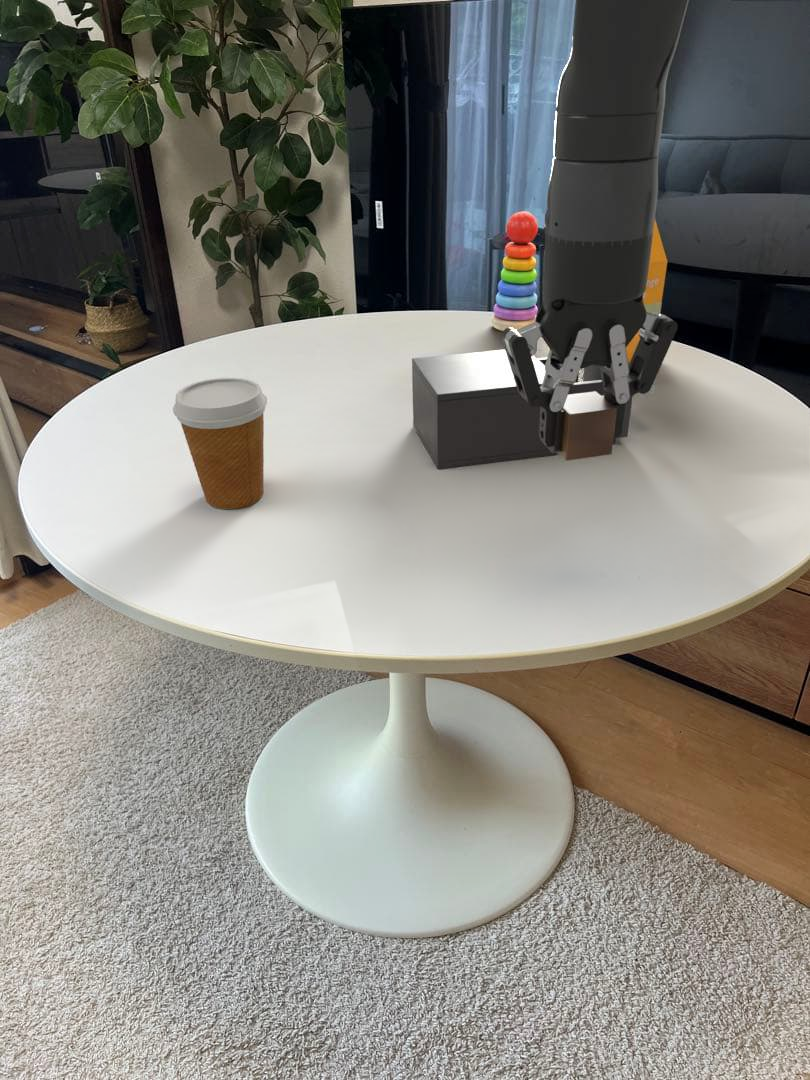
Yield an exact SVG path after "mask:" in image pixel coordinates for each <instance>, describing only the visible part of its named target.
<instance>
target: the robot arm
mask: <svg viewBox="0 0 810 1080" xmlns="http://www.w3.org/2000/svg"><path fill="white" fill-rule="evenodd" d="M689 1H690V0H575V6H574V16H573V27H572V41H571V52H570V57H569V60H568V62H567V64H566V65H565V67H564V69H563V71H562V73H561V76H560V79H559V83H558V90H557V96H556V109H555V120H554V137H553V138H554V139H553V156H554V157H553V158H552V166H551V173H550V177H549V182H548V189H547V198H546V199H547V200H546V210H545V213H544V225H545V235H544V251H543V252H544V254H543V255H544V256H543V271H542V272H543V273H542V287H541V289H542V302H541V305H540V307H539V310H538V311H537V314H536V319H535V322H533V323H531V324H529V325H527V326H524V327H522V328H520V329H518V330H515V329H514V328H511V327H508V328H506V329H505V330H504V331H501V334H500V335H501V336H500V337H501V341H502V343H503V344H502V345H503V347H504V350H505V351H506V354H507V357H508V360H509V363H510V367H511V370H512V373H513V376H514V380H515V383H516V386H517V389H518V392H519V394H520V395H521V396H522V397H523V398H524V399H525V400H526V401H527V402H528V404H529V405H530V406H532V407H537V406H539V407H540V424H539V437H540V439H541V441H542V442H543V443H544V444H545V446H546V447H547V448H548V449H549V450H550V451H551V452H552V453H559V452H561V451H562V443H563V430H564V417H565V411H564V410H563V407H564V404H565V401H566V398H567V395H568V392H569V390H570V387H571V386H572V385H574V383H575V381H576V379H577V376H578V373H579V374H580V370H582V369H583V370H584V368H585V367H588V366H590V365H597V366H598V368H599V370H600V374H601V380H602V386H603V390H604V392H605V393H604V396H602V397H603V398H604V399H606V400H607V401H608V402H609V403H610V404H612V405H613V406H614V407H615V408H616V409H617V413H616V421H615V430H614V439H613V446H614V445H615V444H616V439H620V438H619V437H620V435H621V433H622V427H623V426H622V425H623V419H624V410H625V404H626V402H627V401H628V400H629V398H630V397H631V396H633V397H634V396H635V395H637V394H641V395H644V394H645V393H647V392H649V391H650V389H651V387H652V385H653V386H654V383H655V380H656V378H657V376H658V373H659V372H660V369H661V367H662V365H663V362H664V360H665V357H666V356H667V353H668V351H669V349H670V347H671V345H672V343H673V340H674V337H675V336H676V333H677V331H678V326H679V325H678V322H677V321H676V320H673V319H672V318H671V317H669V316H667V315H665V314H664V313H663V314H662V313H661V312H660V313H659V312H655V313H653V314H652V313H648V312H646V308H645V306H644V303H643V294H644V292H645V290H646V286H647V278H648V270H649V262H650V254H651V246H652V238H653V230H654V222H655V221H656V212H657V205H658V196H659V195H658V194H659V154H660V149H661V148H660V147H661V139H662V138H661V137H662V132H663V124H664V123H663V122H664V115H665V111H664V110H665V109H666V108H665V107H666V93H667V80H668V77H669V72H670V69H671V65H672V62H673V60H674V57H675V53H676V50H677V47H678V43H679V39H680V36H681V31H682V29H683V24H684V20H685V16H686V13H687V9H688V5H689ZM638 331H639V336H640V340H639V342H638V345H637V347H636V350H635V352H634V354H633V357H632V359H631V361H630V363H628V360H627V353H626V347H627V346H628V344H629V343H630V342H631V340H632V339H633V338H634V336H635V335H636V333H637V332H638ZM540 338H542V339H543V341H544V342H545V344H546V345H547V347H548V348H549V352H548V354H547V360H546V364H545V376H544V379H543V382H542V386H541V387H540V385H539V381H538V378H537V374H536V371H535V367H534V364H533V360H532V357H531V356H533V355H534V356H535V355H536V353H537V350H538V346H537V345H538V341H539V339H540ZM578 377H579V376H578Z"/></svg>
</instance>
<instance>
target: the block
mask: <svg viewBox="0 0 810 1080" xmlns="http://www.w3.org/2000/svg"><path fill="white" fill-rule="evenodd" d="M563 410H564V411H565V417H564V430H563V443H562V451H561V452H558V453H559V454H560V456H561V457H562V458H563V459H564V460H565V461H573V460H581V459H587V458H594V457H595V458H596V457H603V456H609V455H612V453H613V447H614V445H613V439H614V430H615V421H616V413H617V409H616V408H615V407H614V406H613V405H612V404H610V403H609V402H608V401H607V400H606V399H604V398H603V397H602V396H601V395H600V394H598V393H597V392H596V391H594V392H586V393H578V394H570V395H567V398H566V401H565V404H564V407H563Z"/></svg>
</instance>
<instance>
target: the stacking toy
mask: <svg viewBox="0 0 810 1080" xmlns="http://www.w3.org/2000/svg"><path fill="white" fill-rule="evenodd" d="M538 231H539V224H538V220H537V218H536V217H535V216H534V214H532V213H531V212H528V211H518V212H515V213H514V214H512V215H511V216H510V217H509V219H508V221H507V223H506V235H507V237H508V239H509V240H510V242H508V243H507V244H506V245H505V247H504V253H505V254H506V256H504V258H503V259H502V265H503V268H502V270H501V272H500V278H501V280H500V281H499V282H498V283H497V290H498V292H497V293H496V295H495V305H494V306H493V314H494V315H493V316H492V318H491V325H492V326H493V328H494V329H496V330H498V331H500V332H503V331H504V330H505V329H506V328H508V327H511V328H514V329H515V330H518V329H520V328H522V327H524V326H527V325H529V324H531V323H533V322H535V319H536V316H537V314H538V312H539V310H538V306H537V305H536V304H537V303H538V296H537V293H536V291H537V288H538V286H537V282H536V281H535V280H536V279H537V276H538V272H537V270H536V269H535V268H536V266H537V260H536V258H535V254H536V253H537V248H536V245H535V244H534V243H532V241H533V240H534V239H535V238H536V237H537V234H538Z"/></svg>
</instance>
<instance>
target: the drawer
mask: <svg viewBox="0 0 810 1080" xmlns="http://www.w3.org/2000/svg"><path fill="white" fill-rule="evenodd" d="M547 357H548V356H547ZM547 357H536V358H537V359H538V360H539V361H540V362H541V363H542V364H544V365H545V364H546V360H547ZM579 374H580V372H579V373H578V376H577V379H576V381H575V383H574V385H572V386H571V387H570V390H569V392H568V395H570V394H578V393H586V392H594V391H596V392H597V393H598V394H600V395H601V396H604V393H605V392H604V390H603V386H602V380H601V374H600V370H599V368H598V366H597V365H590V366H588V367H585V368H583V377H582V381H579ZM654 391H655V387H654V384H653V385H652V387H651V389H650V391H649V392H647V393H645V394H643V395H644V396H646V397H648V396H649V397H650V396H651V395H652V394H654ZM633 397H634V395H633V396H631V397H630V398H629V400H628V401H627V402H626V404H625V410H624V419H623V425H622V426H623V427H622V433H621V435H620V437H619V438H618V439H623V438H628V435H629V434H628V433H629V428H630V427H629V426H630V419H631V411H632V404H633Z"/></svg>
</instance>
